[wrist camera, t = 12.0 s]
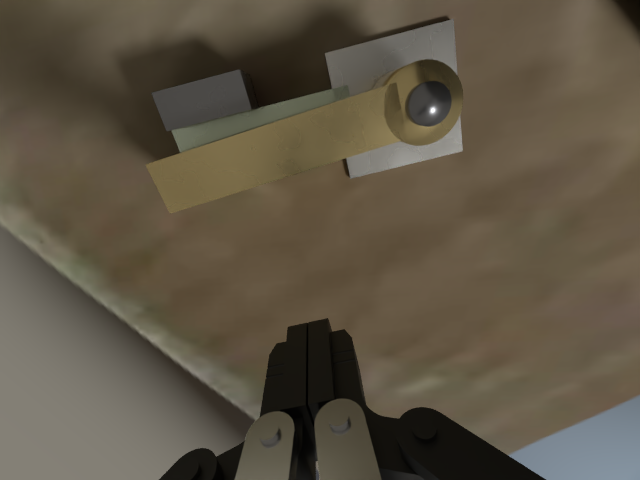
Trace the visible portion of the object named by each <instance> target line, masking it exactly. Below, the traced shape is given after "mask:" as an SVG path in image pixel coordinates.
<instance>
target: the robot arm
mask: <svg viewBox="0 0 640 480" xmlns="http://www.w3.org/2000/svg"><path fill="white" fill-rule="evenodd" d="M315 461H318V469H319V478H320V480H546V479H544V478H542V477H541V476H539V475H538V474H536V473H534V472H533V471H531V470H530V469H528V468H527V467H525V466H524V465H522V464H520V463H519V462H517V461H516V460H514V459H512V458H511V457H509V456H508V455H506V454H505V453H503V452H501V451H500V450H498V449H497V448H495V447H494V446H492V445H490V444H489V443H487V442H486V441H484V440H483V439H481V438H479V437H478V436H476V435H475V434H473V433H471V432H470V431H468V430H467V429H465V428H464V427H462V426H460V425H459V424H457V423H456V422H454V421H453V420H451V419H449V418H448V417H446V416H445V415H443V414H442V413H440V412H438V411H436V410H434V409H431V408H425V407H419V408H414V409H411V410H408V411H407V412H405V413H404V414H403V415H402V416H401V417H400V419H397V418H389V417H384V416H380V415H378V414H376V413H374V412H373V411H371V410H370V409H369V408H368V407H367V406H366V401H365V396H364V391H363V385H362V380H361V375H360V369H359V365H358V361H357V357H356V353H355V349H354V345H353V341H352V337H351V336H350V335H349V334H348V333H347V332H346V331H345V329H343V330H339V331H334V332H332V330H331V326H330V323H329V320H328V318H327V319H322V320H317V321H313V322H309V323H304V324H299V325H294V326H290V327H288V330H287V341H286V342H282V343H277V344H276V345H275V347H274V349H273V350H272V352H271V353H270V355H269V361H268V369H267V374H266V380H265V387H264V393H263V400H262V406H261V413H260V418H258V419H257V420H256V421H255V422H254V423H253V424H252V426H251V427H250V429H249V431H248V432H247V435H246V438H245V441H244V442H242V443H241V444H239V445H238V446H236V447H234V448H232V449H230V450H228V451H226V452H224V453H223V454H221V455H219V456H217V457H216V456H215V454H214V453H213V452H212V451H211V450H209V449H206V448H200V449H195V450H193V451H191V452H188V453H187V454H185V455H184V456H182V457H181V458H180V459H179V460H178V461H177V462H176V463H175V464H174V465H173V466H172V467H171V468H170V469H169V470H168V471H167V472H166V473H165V474H164V475H163V476H162V477H161V478H160V479H159V480H316V462H315Z"/></svg>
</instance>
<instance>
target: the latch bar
mask: <svg viewBox="0 0 640 480" xmlns="http://www.w3.org/2000/svg"><path fill="white" fill-rule="evenodd" d="M428 81H438V82H441V83H443V84H444V85H445V86H446V87H447V88H448V89H449V91H450V94H451V99H452V103H451V108H450V111H449V113H448V115H447V116H446V118H445V119H444V120H443V121H442V122H440V123H439V124H437V125H435V126H431V127H425V126H419V125H416V124H414V123H412V122H411V121H410V120H409V118H408V117H407V115H406V112H405V101H406V98H407V96H408V94H409V92H410V91H411V90H412V89H413V88H414V87H415V86H416V85H418V84H420V83H424V82H428ZM462 106H463V89H462V85H461V82H460V80H459V78H458V76H457V74H456V73H455V72H454V71H453V69H452V68H451V67H449V66H448V65H447V64H445V63H443V62H440V61H438V60H433V59H424V60H419V61H415V62H413V63H411V64H408V65H406V66H403V67H401V68H398V69H396V70H394V71H391V72H389V73H387V74H385V75H384V76H383V77H381V78H380V79H379V80H378V81H377V83H376V84H375V85H374V87H373V89H371V90H368V91H365V92H362V93H359V94H356V95H353V96H349V97H346V98H343V99H340V100H337V101H334V102H331V103H328V104H325V105H322V106H319V107H316V108H313V109H310V110H307V111H304V112H301V113H298V114H295V115H292V116H289V117H286V118H283V119H280V120H277V121H274V122H270V123H267V124H264V125H261V126H258V127H255V128H252V129H249V130H246V131H243V132H240V133H237V134H234V135H231V136H228V137H225V138H222V139H219V140H216V141H213V142H210V143H207V144H204V145H201V146H198V147H194V148H191V149H188V150H185V151H182V152H179V153H176V154H174V155H171V156H168V157H165V158H162V159H160V160H157V161H154V162H151V163H149V164H146V167H147V169H148V171H149V173H150V175H151V177H152V179H153V181H154V183H155V185H156V187H157V189H158V191H159V193H160V195H161V197H162V199H163V201H164V203H165V205H166V207H167V209H168V211H169V212H170V214H171V213H174V212H177V211H180V210H183V209H186V208H190V207H193V206H196V205H199V204H202V203H206V202H209V201H212V200H215V199H218V198H221V197H225V196H228V195H231V194H234V193H237V192H240V191H244V190H247V189H250V188H253V187H256V186H259V185H263V184H266V183H269V182H272V181H275V180H279V179H282V178H285V177H288V176H291V175H294V174H298V173H301V172H304V171H307V170H310V169H313V168H317V167H320V166H323V165H326V164H329V163H332V162H336V161H339V160H342V159H345V158H348V157H352V156H355V155H358V154H361V153H364V152H367V151H371V150H374V149H377V148H380V147H383V146H386V145H390V144H393V143H396V142H399V141H401V142H404V143H406V144H409V145H414V146H423V145H428V144H432V143H434V142H436V141H438V140H440V139H441V138H443V137H444V136H445V135H447V134H448V133H449V132H450V131H451V129H452V128H453V127H454V125H455V124H456V122H457V120H458V118H459V116H460V113H461V110H462Z"/></svg>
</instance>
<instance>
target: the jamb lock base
mask: <svg viewBox="0 0 640 480" xmlns="http://www.w3.org/2000/svg"><path fill="white" fill-rule="evenodd" d="M325 58H326V63H327V68H328V73H329V78H330V83H331V88H332V89H330V90H326V91H322V92H318V93H314V94H310V95H306V96H303V97H299V98H295V99H291V100H287V101H283V102H280V103H276V104H272V105H268V106H264V107H260V108H259V106H258V102H257V99H256V96H255V92H254V89H253V85H252V82H251V78H250V75H249V74H247V73H245V72H244V71H242V70H240V69H239V70H235V71H231V72H227V73H224V74H220V75H216V76H212V77H209V78H205V79H201V80H197V81H194V82H190V83H186V84H182V85H179V86H175V87H171V88H167V89H164V90H160V91H156V92H152V93H151V94H152V96H153V99H154V101H155V104H156V106H157V109H158V111H159V114H160V116H161V119H162V121H163V124H164V126H165V129H166V131H171V130H172V134H173V136H174V139H175V141H176V144H177V146H178V149H179V151H180V152H182V151H185V150H188V149H191V148H194V147H198V146H201V145H204V144H207V143H210V142H213V141H216V140H219V139H222V138H225V137H228V136H231V135H234V134H237V133H240V132H243V131H246V130H249V129H252V128H255V127H258V126H261V125H264V124H267V123H270V122H274V121H277V120H280V119H283V118H286V117H289V116H292V115H295V114H298V113H301V112H304V111H307V110H310V109H313V108H316V107H319V106H322V105H325V104H328V103H331V102H334V101H337V100H340V99H343V98H346V97H349V96H353V95H356V94H359V93H362V92H365V91H368V90H371V89H373V87H374V85H375V84H376V83H377V81H378V80H379V79H380V78H381V77H383V76H384V75H385V74H387V73H389V72H391V71H394V70H396V69H398V68H401V67H403V66H406V65H408V64H411V63H413V62H415V61H419V60H424V59H433V60H438V61H440V62H443V63H445V64H447V65H448V66H449V67H451V68H452V69H453V71H454V72H455V73H456V74H457V62H456V48H455V33H454V19H451V20H448V21H444V22H440V23H436V24H432V25H429V26H425V27H421V28H417V29H414V30H410V31H406V32H402V33H399V34H395V35H391V36H387V37H384V38H380V39H376V40H372V41H369V42H365V43H361V44H357V45H354V46H350V47H346V48H342V49H339V50H335V51H331V52H327V53H325ZM451 103H452V99H451V94H450V91H449V89H448V88H447V87H446V86H445V85H444V84H443V83H441V82H438V81H428V82H424V83H420V84H418V85H416V86H415V87H414V88H413V89H412V90H411V91H410V92H409V94H408V96H407V98H406V101H405V112H406V115H407V117H408V118H409V120H410V121H411V122H412V123H414V124H416V125H419V126H425V127H431V126H435V125H437V124H439V123H440V122H442V121H443V120H444V119H445V118H446V116H447V115H448V113H449V111H450V108H451ZM461 151H463V149H462V135H461V120H460V116H459V118H458V120H457V122H456V124H455V125H454V127H453V128H452V129H451V131H450V132H449V133H448V134H447V135H445V136H444V137H443V138H441V139H440V140H438V141H436V142H434V143H432V144H428V145H423V146H414V145H409V144H406V143H404V142H401V141H399V142H396V143H393V144H390V145H386V146H383V147H380V148H377V149H374V150H371V151H367V152H364V153H361V154H358V155H355V156H352V157H348V158H346V161H347V166H348V171H349V176H350V179H351V178H355V177H359V176H363V175H367V174H371V173H375V172H379V171H383V170H387V169H391V168H396V167H400V166H404V165H408V164H412V163H416V162H420V161H424V160H428V159H432V158H436V157H440V156H444V155H448V154H453V153H457V152H461Z"/></svg>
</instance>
